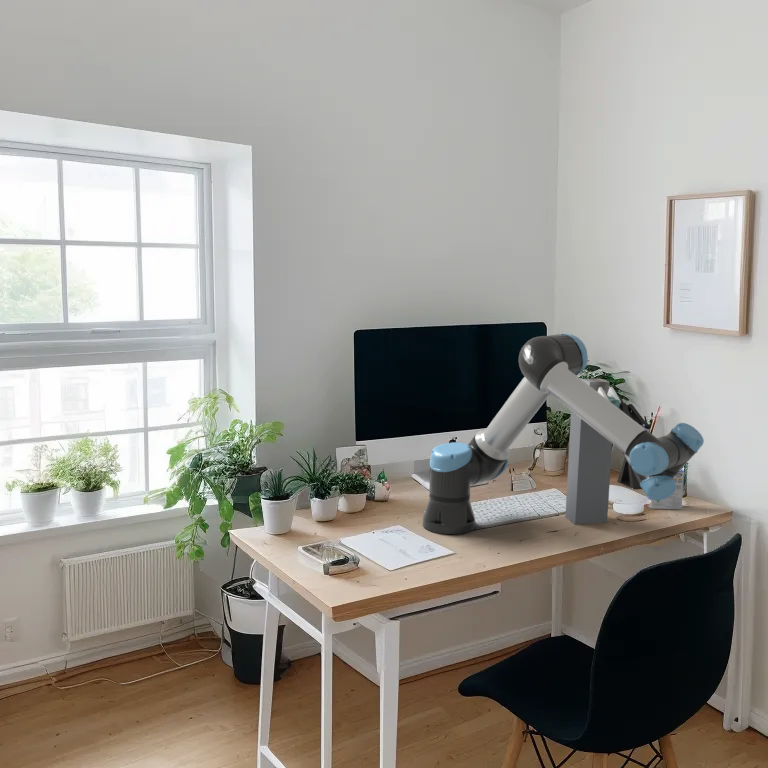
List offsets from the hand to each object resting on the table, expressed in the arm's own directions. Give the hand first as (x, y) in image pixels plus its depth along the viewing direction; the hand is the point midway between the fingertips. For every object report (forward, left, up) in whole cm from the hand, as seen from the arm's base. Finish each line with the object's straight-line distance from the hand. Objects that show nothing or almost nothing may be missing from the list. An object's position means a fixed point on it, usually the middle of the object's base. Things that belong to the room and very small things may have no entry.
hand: (604, 390), depth 220 cm
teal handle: (0, +1, -4) cm, 4 cm away
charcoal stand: (0, +7, -40) cm, 41 cm away
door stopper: (+32, +39, -40) cm, 65 cm away
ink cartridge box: (+30, +15, -40) cm, 52 cm away
